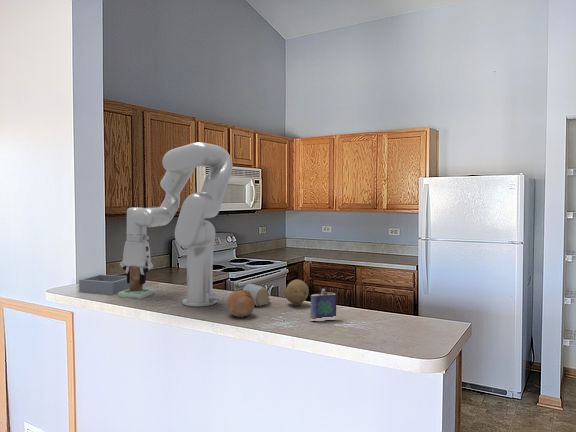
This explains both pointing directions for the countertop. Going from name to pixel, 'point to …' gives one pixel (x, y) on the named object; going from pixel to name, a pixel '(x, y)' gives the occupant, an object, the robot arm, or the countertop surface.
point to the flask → (323, 305)
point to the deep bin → (104, 284)
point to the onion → (240, 303)
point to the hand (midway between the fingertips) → (136, 282)
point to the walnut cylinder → (135, 279)
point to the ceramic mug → (258, 294)
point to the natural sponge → (296, 292)
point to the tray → (136, 293)
